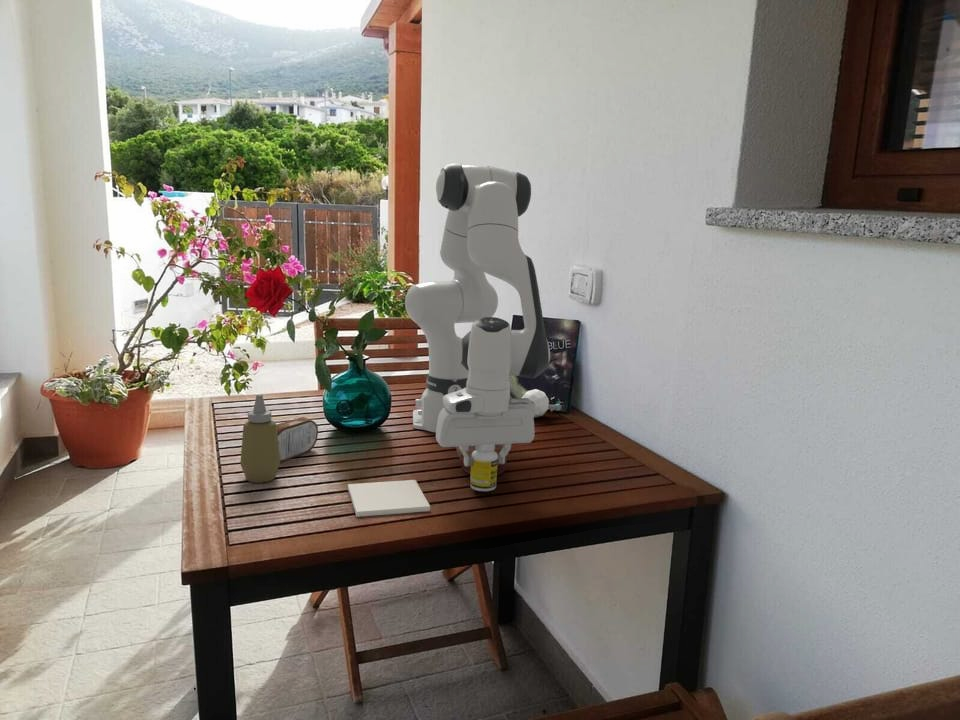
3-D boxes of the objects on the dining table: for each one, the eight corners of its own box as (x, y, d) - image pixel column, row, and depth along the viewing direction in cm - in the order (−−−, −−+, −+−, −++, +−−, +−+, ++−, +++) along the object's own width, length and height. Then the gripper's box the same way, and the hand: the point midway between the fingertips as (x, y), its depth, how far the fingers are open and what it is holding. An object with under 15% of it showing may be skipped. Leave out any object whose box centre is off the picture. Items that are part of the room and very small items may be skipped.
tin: (310, 446, 171) (310, 412, 170) (320, 449, 170) (320, 415, 168) (262, 464, 159) (262, 427, 157) (273, 467, 157) (272, 430, 155)
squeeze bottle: (242, 487, 145) (240, 401, 141) (238, 473, 152) (236, 391, 148) (283, 483, 148) (282, 398, 144) (277, 469, 155) (276, 389, 152)
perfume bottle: (515, 399, 210) (553, 403, 213) (518, 421, 204) (558, 425, 207) (523, 382, 204) (562, 386, 207) (527, 404, 199) (567, 409, 202)
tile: (347, 488, 147) (347, 484, 146) (415, 484, 151) (415, 479, 150) (356, 516, 133) (356, 511, 133) (429, 511, 138) (430, 506, 137)
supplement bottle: (493, 493, 145) (495, 447, 143) (467, 490, 146) (469, 444, 144) (498, 483, 150) (500, 439, 148) (473, 480, 151) (474, 436, 149)
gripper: (530, 393, 150) (526, 456, 153) (435, 396, 144) (432, 461, 147) (541, 401, 144) (537, 466, 147) (442, 405, 138) (439, 472, 141)
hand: (484, 464), depth 147 cm, fingers closed on supplement bottle, 5 cm apart
